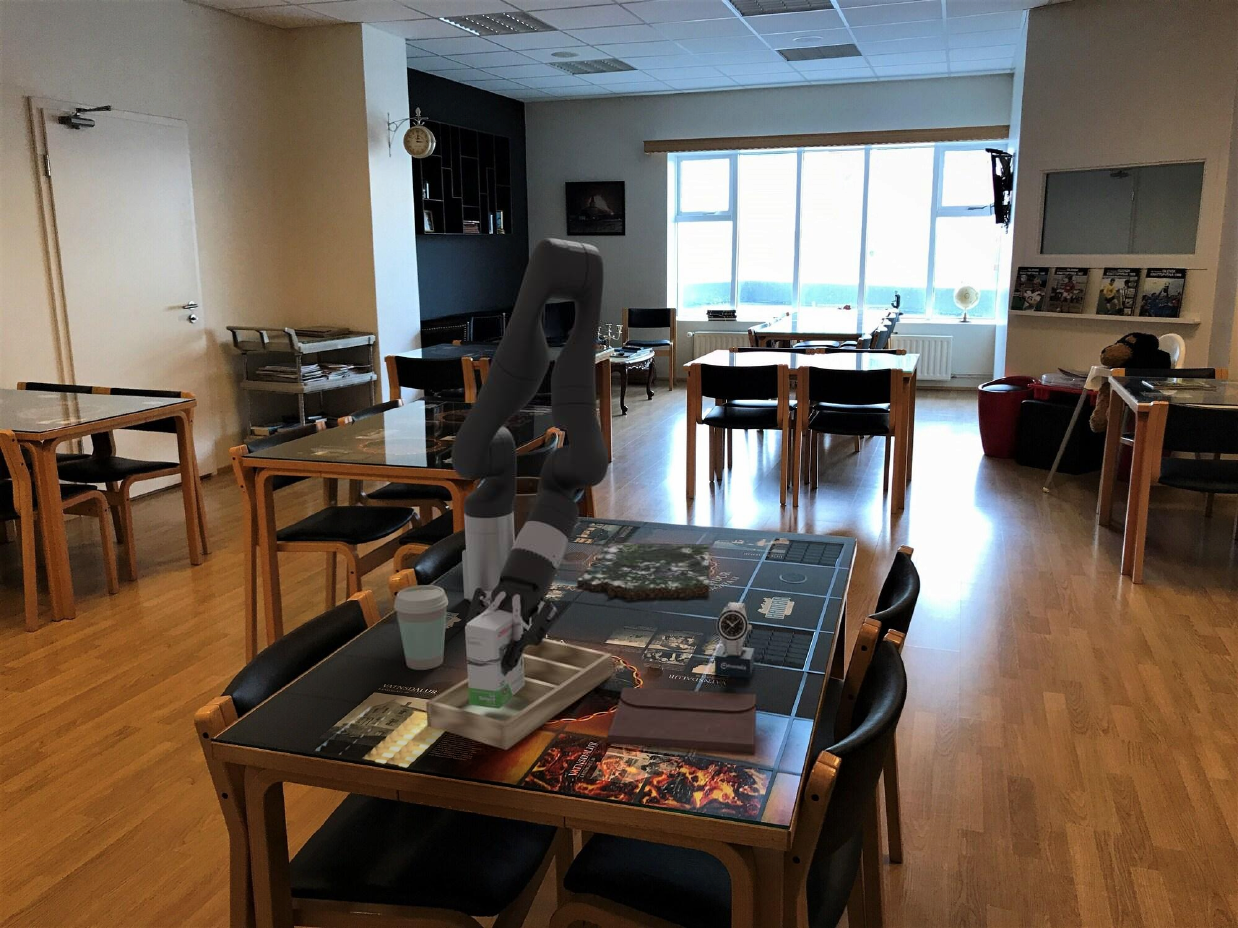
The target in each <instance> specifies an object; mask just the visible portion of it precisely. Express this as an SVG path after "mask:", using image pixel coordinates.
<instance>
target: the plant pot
mask: <svg viewBox="0 0 1238 928" xmlns="http://www.w3.org/2000/svg"><path fill="white" fill-rule="evenodd" d="M539 479H540V477H535V476H533V477H532V476H519V477H517V476H516V497H515V500H514V504H513V509H514V535H515V540H516V538H517V536H518V534H519V533H520V531H521V530H522V528H523V526H524V525H525V523H526V520H527V518H528V516H529V514H530V512H531V509H532V507H533V505H534V504H535V502H536V497H537V489H538V484H539Z"/></svg>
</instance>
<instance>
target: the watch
mask: <svg viewBox="0 0 1238 928" xmlns="http://www.w3.org/2000/svg"><path fill="white" fill-rule="evenodd" d="M716 620H717V621H716V630H717V633H718V635H719V639H720V642H721V644H720V645H719V646H718V649H717V651H716V653H715V655H714V675H717V676H727V677H737V678H746V679H750V678H751V676H752V674H753V671H754V668H755V648H754V647H745V646H743V645H744V644H745V638H746V636H747V634H748V633H749V632H748V631H751V630H752V624H749V621H748V617H747V612H746V604H745V603H742V602H731V601H729V602H728V603H727V606H725V607H724V608H723V610H722V612H721V613H720V615H719V616H718V618H717V619H716Z"/></svg>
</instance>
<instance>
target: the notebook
mask: <svg viewBox="0 0 1238 928" xmlns="http://www.w3.org/2000/svg"><path fill="white" fill-rule="evenodd" d="M756 711H757V694H749V693H748V694H747V693H733V692H732V693H729V692H715V691H714V692H712V691H696V690H695V691H694V690H692V691H691V690H680V689H679V690H675V689H663V688H660V689H658V688H642V687H641V688H639V687H626V686H625V687H622V690H621V693H620V696H619V700H618V704H617V706H616V710H615V711H614V714H613V715H614V716H613V718H612V721H611V723H610V724H611V725H610V726H609V730H608V733H607V738H606V742H607V744H609V745H624V746H625V745H627V746H642V747H657V748H659V747H660V748H670V749H671V748H672V749H689V750H704V751H705V750H706V751H719V752H720V751H721V752H735V753H748V754H749V753H750V754H751V753H752V754H753V753H754V754H755V750H756V749H755V748H756V747H755V746H756V745H755V742H756V716H757V715H756Z"/></svg>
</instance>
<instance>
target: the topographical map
mask: <svg viewBox="0 0 1238 928" xmlns="http://www.w3.org/2000/svg"><path fill="white" fill-rule="evenodd" d="M577 588H581V589H582V588H585V589H587V590H591V591H592V592H596V591H598V592H603V591H606V592H608V598H609V599H612V598H614V597H615V598H616V597H623V598H624V599H625V598H626V599H627V601H637V600H641V599H654V598H657V599H658V598H663V599H664V598H665V599H666V598H667V599H675V598H683V599H690V598H695V597H707V598H708V597H710V544H709V543H707V544H706V543H704V544H701V543H700V544H698V543H696V544H694V543H693V544H692V543H638V542H637V543H628V542H627V543H626V542H625V543H624V542H623V543H622V542H621V543H620V542H618V543H617V542H616V543H615V542H608V544H607V545H606V546H605V547H604V548H603V550H602V551H601V552H600V553H599V555H598V556H597V557H596V558H595V560H594V561H593V562H592V563H591V565H590V566H589V567H588V566H587V567H586V569H585V570H584V571H583V573H582V575H579V577H578V579H577Z"/></svg>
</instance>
